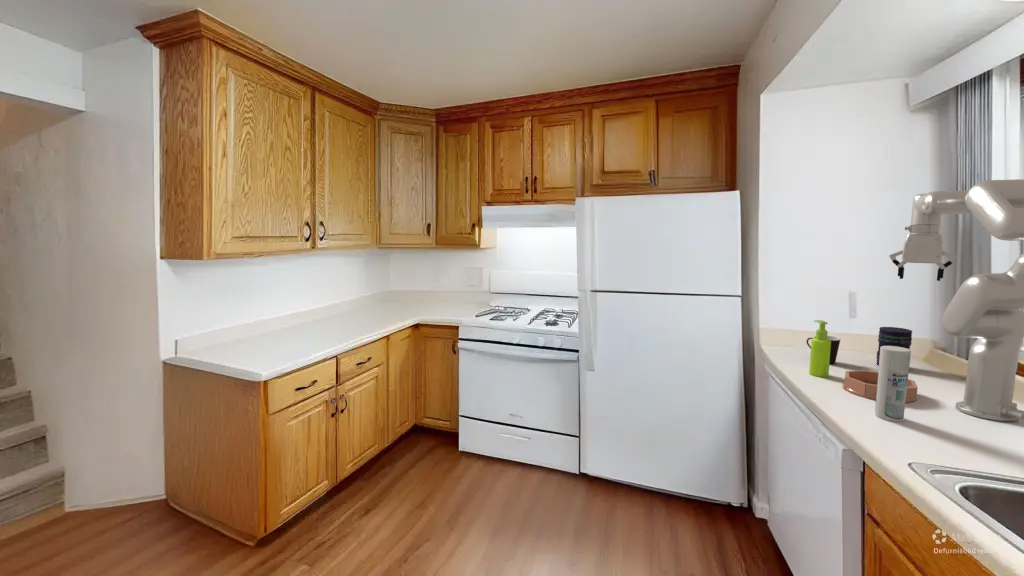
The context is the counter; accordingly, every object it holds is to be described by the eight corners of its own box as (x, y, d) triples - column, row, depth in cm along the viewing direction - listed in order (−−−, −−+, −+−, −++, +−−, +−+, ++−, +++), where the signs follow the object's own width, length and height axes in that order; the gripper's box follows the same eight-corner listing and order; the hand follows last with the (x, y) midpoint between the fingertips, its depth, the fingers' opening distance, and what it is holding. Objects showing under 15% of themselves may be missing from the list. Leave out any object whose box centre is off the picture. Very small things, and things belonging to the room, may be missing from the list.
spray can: (890, 412, 131) (896, 345, 129) (910, 421, 125) (917, 351, 123) (868, 413, 131) (874, 345, 129) (887, 422, 125) (894, 351, 122)
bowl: (933, 400, 140) (935, 386, 140) (880, 404, 137) (881, 390, 137) (876, 381, 159) (877, 368, 158) (828, 384, 156) (829, 371, 155)
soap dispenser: (820, 371, 170) (824, 319, 168) (831, 377, 163) (836, 323, 161) (804, 371, 171) (808, 319, 168) (814, 377, 164) (818, 322, 162)
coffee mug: (843, 365, 178) (845, 340, 177) (821, 365, 178) (823, 340, 177) (824, 357, 190) (826, 333, 189) (803, 357, 190) (805, 333, 189)
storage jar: (870, 365, 178) (873, 328, 176) (884, 362, 182) (887, 325, 180) (900, 372, 169) (904, 333, 167) (914, 368, 173) (918, 330, 171)
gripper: (890, 230, 159) (886, 278, 161) (959, 229, 146) (953, 282, 149) (893, 230, 164) (888, 277, 166) (960, 229, 152) (954, 280, 154)
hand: (919, 279), depth 157 cm, fingers open, 9 cm apart
